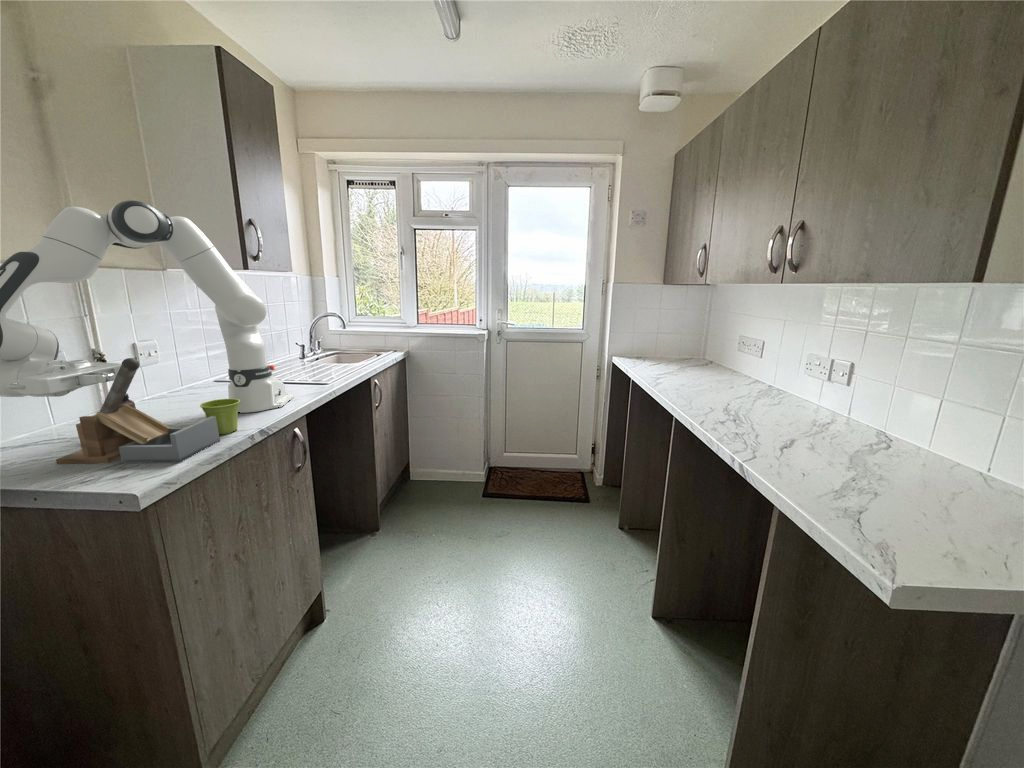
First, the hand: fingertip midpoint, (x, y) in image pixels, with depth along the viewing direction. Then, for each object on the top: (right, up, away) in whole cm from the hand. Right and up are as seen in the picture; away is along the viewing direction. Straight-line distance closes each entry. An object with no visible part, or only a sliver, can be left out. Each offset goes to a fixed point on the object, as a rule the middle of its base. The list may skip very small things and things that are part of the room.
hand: (109, 377), depth 100 cm
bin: (+12, -19, +5) cm, 23 cm away
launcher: (+2, -12, +3) cm, 13 cm away
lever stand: (-4, -19, +4) cm, 20 cm away
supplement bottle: (-13, -16, +19) cm, 28 cm away
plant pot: (+15, -15, +19) cm, 29 cm away
